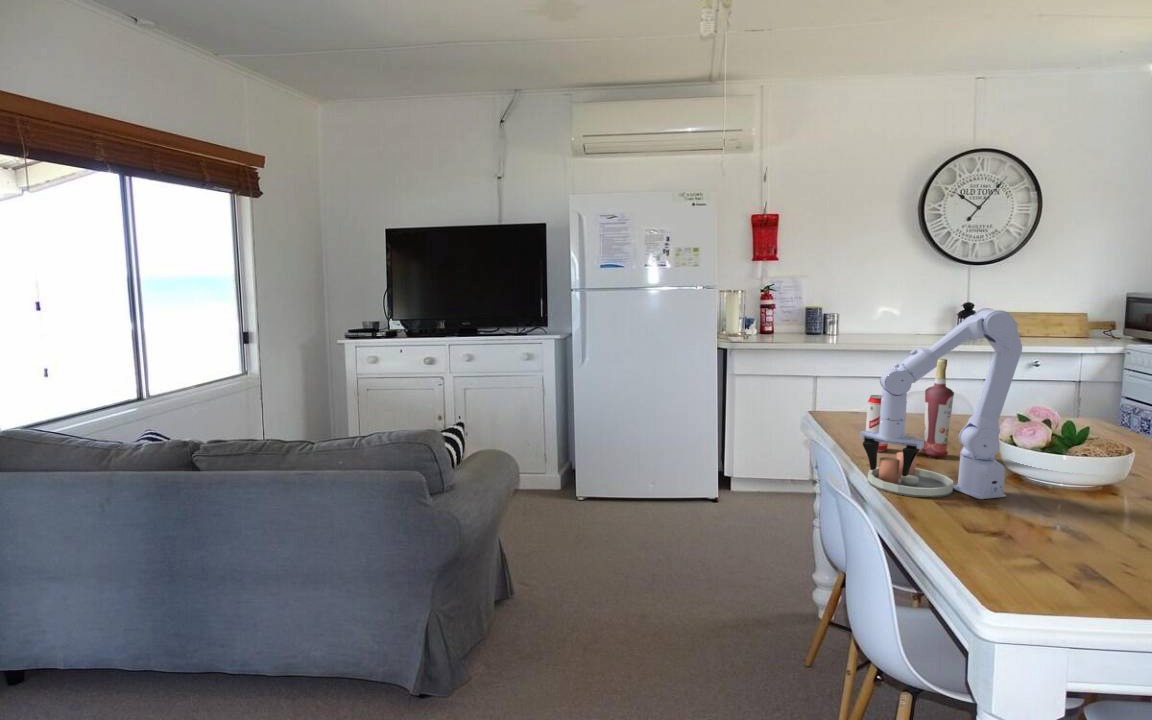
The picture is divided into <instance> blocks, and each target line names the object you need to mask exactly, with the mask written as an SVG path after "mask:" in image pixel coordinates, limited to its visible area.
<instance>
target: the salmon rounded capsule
mask: <svg viewBox="0 0 1152 720" xmlns="http://www.w3.org/2000/svg"><path fill="white" fill-rule="evenodd" d="M896 459H898V460H900V464H899V477H898V478H900V479H901V475H902V471H903V451H899V452H896ZM916 465H917V455H916V456H915V458H914V460H913V462H912V464H911V466H910V469H909V473H908V475H913V476H915V468H916Z"/></svg>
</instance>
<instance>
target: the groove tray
mask: <svg viewBox="0 0 1152 720" xmlns="http://www.w3.org/2000/svg"><path fill="white" fill-rule="evenodd" d="M878 478H879V466H876V469H875V470H870V469H869V470H868V472H867V483H868V484H869V485H870V486H871V487H873V488H875V489H876V490H879V489H880V491H882V490H884V491H883V492H885V491H887V492H886V493H889V492H891V493H890V494H892V493H895V494H894V495H897V494H899V495H898V496H902V495H904V496H903V497H909V496H910V498H918V497H930V498H929V499H935V498H934V497H939V498H945V497H948V496H951V495H952V493H953V490H954V489H953V485H954V480H953V479H951V478H950V477H949V476H947V475H944V474H941V473H938V472H935V471H932V470H927V469H922V468H916V467H915V476H913V475H907V476H902V475H901V479H900V478H898V485H897V484H893V483H889V482H885V481H883V480H880V479H878ZM931 497H932V498H931Z"/></svg>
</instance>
